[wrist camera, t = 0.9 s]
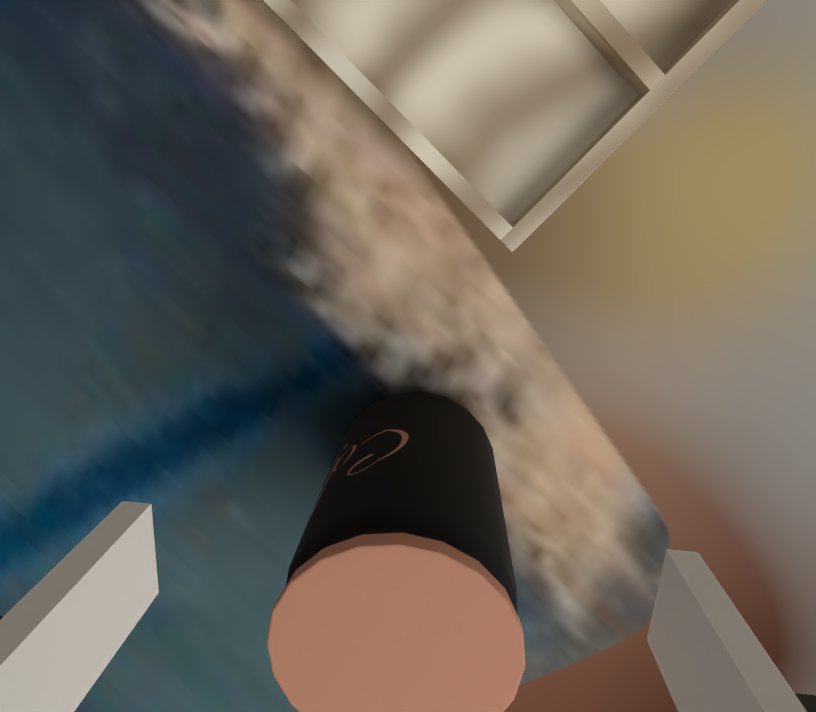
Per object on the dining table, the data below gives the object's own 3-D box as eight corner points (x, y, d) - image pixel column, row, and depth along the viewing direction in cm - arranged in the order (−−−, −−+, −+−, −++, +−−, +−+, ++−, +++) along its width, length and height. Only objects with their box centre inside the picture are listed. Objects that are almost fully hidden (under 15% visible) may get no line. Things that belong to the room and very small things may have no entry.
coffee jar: (405, 354, 38) (371, 492, 21) (524, 448, 40) (583, 650, 22) (313, 462, 41) (216, 662, 24) (427, 547, 42) (413, 794, 25)
